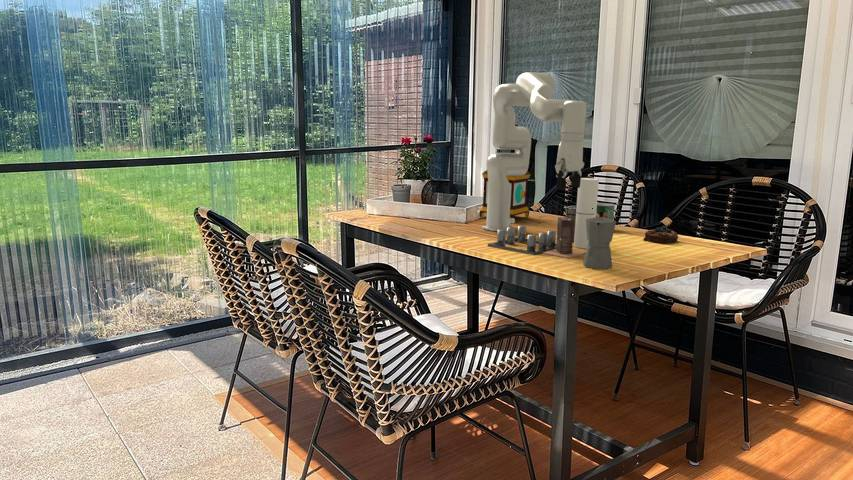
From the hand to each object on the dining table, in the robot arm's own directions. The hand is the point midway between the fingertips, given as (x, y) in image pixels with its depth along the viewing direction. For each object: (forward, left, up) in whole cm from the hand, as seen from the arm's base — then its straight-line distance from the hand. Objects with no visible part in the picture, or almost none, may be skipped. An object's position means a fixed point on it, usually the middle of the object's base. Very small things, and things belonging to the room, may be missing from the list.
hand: (568, 188), depth 225 cm
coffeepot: (+8, +17, -23) cm, 30 cm away
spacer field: (0, -16, -23) cm, 28 cm away
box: (+1, 0, -23) cm, 23 cm away
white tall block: (-17, -2, -23) cm, 29 cm away
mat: (0, 0, -23) cm, 23 cm away
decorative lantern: (-49, -61, -23) cm, 81 cm away
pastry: (-51, +13, -23) cm, 58 cm away
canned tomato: (-57, -15, -23) cm, 63 cm away
